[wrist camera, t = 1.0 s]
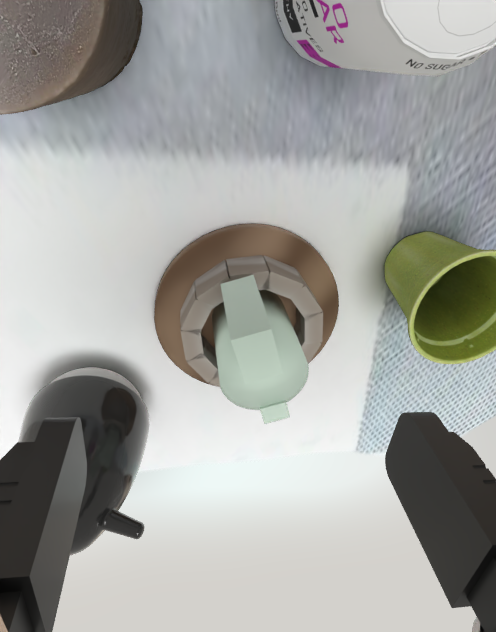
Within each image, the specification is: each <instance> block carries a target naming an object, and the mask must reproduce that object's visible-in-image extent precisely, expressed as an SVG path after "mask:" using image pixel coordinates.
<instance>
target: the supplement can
mask: <svg viewBox="0 0 496 632" xmlns="http://www.w3.org/2000/svg"><path fill="white" fill-rule="evenodd" d="M275 11H276V16H277V19H278V21H279V24H280V26H281V29H282V31H283V34H284V37H285V39H286V40H287V41H288V42H289V43H290V45H291V46H292V47H293V48H294V49H295V51H296V52H297V53H298V54H299V55H300V56H301V57H303V58H305V59H307V60H309V61H311V62H313V63H315V64H316V65H318V66H324V67H334V68H344V69H354V70H364V71H374V72H383V73H393V74H403V75H420V76H440V75H443V74H445V73H448V72H451V71H454V70H457V69H459V68H462V67H465V66H468V65H471V64H472V63H473V62H475V61H476V60H477V59H478V58H480V57H481V56H482V55H484V54H485V53H486V52H487V51H489V50H490V49H491V48H493V47H494V46H495V45H496V0H275Z"/></svg>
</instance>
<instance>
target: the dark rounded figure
mask: <svg viewBox="0 0 496 632" xmlns="http://www.w3.org/2000/svg"><path fill="white" fill-rule="evenodd" d="M72 417H79V418H80V419H81V423H82V430H83V438H84V445H85V452H86V460H87V477H86V485H85V490H84V495H83V499H82V503H81V508H80V512H79V517H78V521H77V525H76V530H75V534H74V538H73V543H72V547H71V551H70V555H73V554H76V553H78V552H81V551H83V550H84V549H86V548H87V547H89V546H90V545H91V544H92V543H93V542H94V541H95V540H96V539H97V538H98V537H99V536H100V535H101V534H102V533H103V532H104V531H105V530H107V531H110V532H114V533H117V534H120V535H124V536H127V537H131V538H134V539H139V538H140V537H141V536H142V534H143V531H144V524H143V523H141V522H139V521H137V520H135V519H133V518H131V517H129V516H127V515H125V514H123V513H120V512H119V511H118V510H119V509H120V507H121V506H122V503H123V502H124V500H125V498H126V496H127V495H128V493H129V491H130V488H131V486H132V484H133V482H134V480H135V477H136V475H137V472H138V470H139V467H140V464H141V461H142V457H143V454H144V450H145V446H146V442H147V437H148V431H149V415H148V411H147V408H146V406H145V404H144V402H143V401H142V398H141V396H140V394H139V393H138V391H137V389H136V388H135V387H134V386H133V384H132V383H131V382H130V381H128V380H127V379H126V378H125V377H123V376H121V375H120V374H118V373H116V372H113V371H111V370H107V369H103V368H96V367H87V368H79V369H75V370H72V371H69V372H66V373H64V374H62V375H60V376H59V377H57V378H56V379H54V380H53V381H52V382H50V383H49V384H48V385H47V386H45V387H44V388H42V389H41V390H40V391H39V392H38V393H37V394H36V395H35V396H34V397H33V399H32V400H31V402H30V404H29V406H28V408H27V411H26V413H25V416H24V420H23V423H22V427H21V432H20V437H19V442H35V439H36V437H37V434H38V432H39V429H40V426H41V424H42V422H43V420H44V419H45V418H72Z"/></svg>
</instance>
